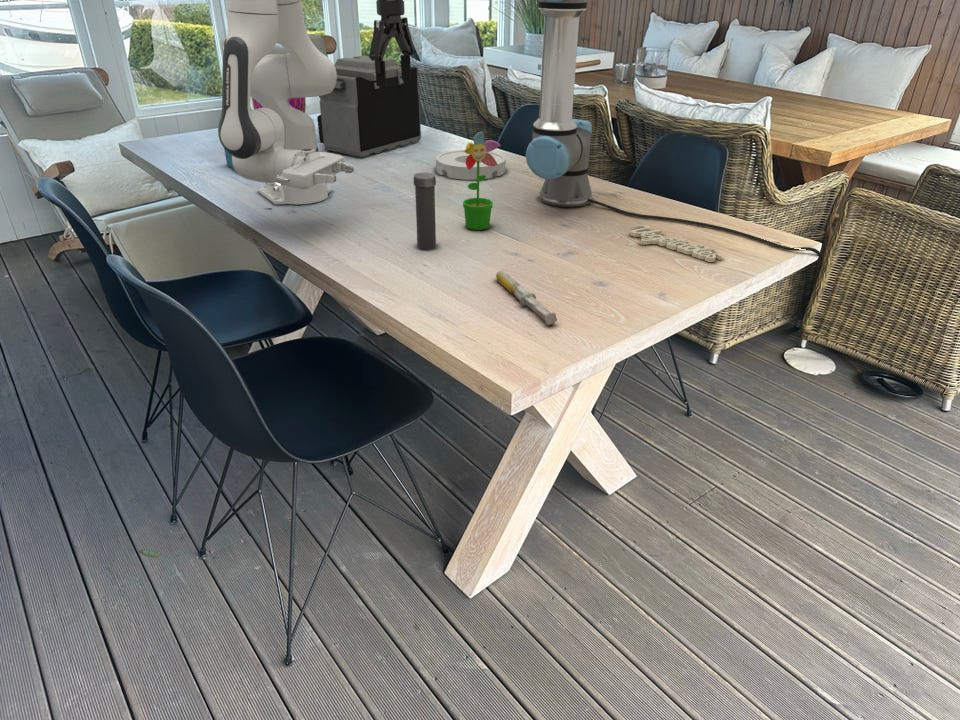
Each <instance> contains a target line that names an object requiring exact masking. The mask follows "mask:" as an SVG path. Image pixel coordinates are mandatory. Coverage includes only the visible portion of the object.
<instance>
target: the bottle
mask: <svg viewBox="0 0 960 720" xmlns="http://www.w3.org/2000/svg"><path fill="white" fill-rule="evenodd" d="M435 187H436V185H435V186H433V187H428V188H421V187H416V186H415V185H414V191H415V193H414V194H415V218H416V219H415V220H416V246H417V249H419V250H421V251H429V250H434V249H436V247H437V236H436V232H437V231H436V194H435V193H436V192H435V191H436V189H435Z"/></svg>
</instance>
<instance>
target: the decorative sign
mask: <svg viewBox="0 0 960 720" xmlns="http://www.w3.org/2000/svg"><path fill="white" fill-rule="evenodd" d="M650 229H651V227H650V226H648V225H644V224H637V225H636V229H632V230H631V231H630V236H631V237H634V238H640V245H643V246H644V245H646V246H647V245H658V246H660V247H666V248H667V249H669V250H671V251H677V252H678V253H682V254H685V255H691V256H692V257H693V258H697V259H699V260H704V261H705V262H709V263H714V262H716V260H719V261H720V260H721V259H722V254H721V253H718V252H715V250H716V249H715V248H714V247H705V245H706V244H700V243H699V244H690V243H689V241H688V240H686V239H682V238H681V239H680V238H677V237H673V238H671V237H667V236H663V235H662V234H663V230H662V229H652V230H650Z"/></svg>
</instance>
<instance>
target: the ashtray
mask: <svg viewBox="0 0 960 720" xmlns="http://www.w3.org/2000/svg"><path fill="white" fill-rule="evenodd" d="M486 153H489V154H491V155H492V156H493V157H494V159H495V160H496V162H497V164H498V165H495V166H487V165H485V164H484V163H482V161H481V160H480V162H479V176H481V175H485V176H486V177H485V179H484V180H488V179H492V178H493V177H500V176H503V174H505V173H506V159H507V158H506V157H505V155H503V154H502V153H498V152H495V151H490V152H486ZM469 155H470V154H467V153H465V149H456V150H455V149H454V150H449V151H445V152H441V153H440V154H437V155H436V157H435V163H436V164H435V168H436V169H435V170H436V173H437V174H438V175H440V176H446V177H447V178H449V179H456V180H465V181H477V161H476V163H475V165H474V166H473V167H472V168H471V169H470V170H468V168H467V166H466V163H465V161H466V158H467V157H468V156H469Z"/></svg>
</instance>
